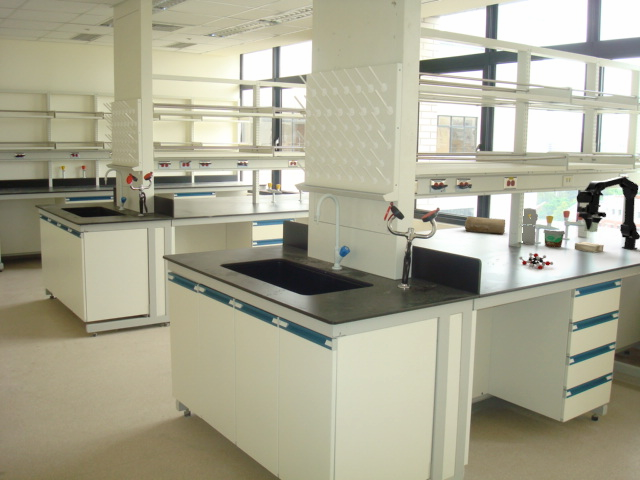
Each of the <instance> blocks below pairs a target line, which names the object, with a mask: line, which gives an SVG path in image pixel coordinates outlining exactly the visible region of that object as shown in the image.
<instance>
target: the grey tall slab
mask: <svg viewBox="0 0 640 480" xmlns="http://www.w3.org/2000/svg"><path fill="white" fill-rule="evenodd" d="M523 209H524V216H523V224H526V225H523V226H522V227H523V233H522V241H523V243H522V244H524V243H525V244H527V245H535V244H536V233H537V232H536V226H537V221H538V217H539V214H538V213H537V210H536V209H534V208H531V207H525V208H523ZM529 214H531V216H530V217H531V219H530V218H529V216H528V215H529ZM527 224H532V225H529V226H527ZM533 225H536V226H534V227H533Z"/></svg>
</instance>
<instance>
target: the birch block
mask: <svg viewBox="0 0 640 480" xmlns="http://www.w3.org/2000/svg"><path fill="white" fill-rule="evenodd" d="M604 246H605V245H604V244H602V243H601V244H599V243H595V242H589V241H583V242H582V241H581V242H575V243H574V250H579V251H584V252H588V253H589V252H590V253H600V252H604Z"/></svg>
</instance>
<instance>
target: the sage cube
mask: <svg viewBox="0 0 640 480" xmlns="http://www.w3.org/2000/svg"><path fill="white" fill-rule="evenodd" d="M598 227H599V223H594V222H592V224H591V227H590V229H589V230H587V226H586V222H585V221H584V229H583V230H584V232H589V233H595V232H596V233H597V232H598Z"/></svg>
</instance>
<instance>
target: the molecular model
mask: <svg viewBox="0 0 640 480" xmlns="http://www.w3.org/2000/svg"><path fill="white" fill-rule="evenodd" d="M528 255H529V256H528V259H527V260H524V259H523V257H522V256H519V257H518V259H519V260H522V261H521V263H522V264H521V265H527V264H529V267H530V268H532V267H533V266H534V265H535V266H536V267H537V269H538V270H542V269H545V265H546V266H547V267H548V266H552V265H554V262H553V261H549V260H547V261H544V259H546V258H547V255H546V254H543V255H542V257H540V256H539V254H538V253H532V252H529V254H528Z"/></svg>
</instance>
